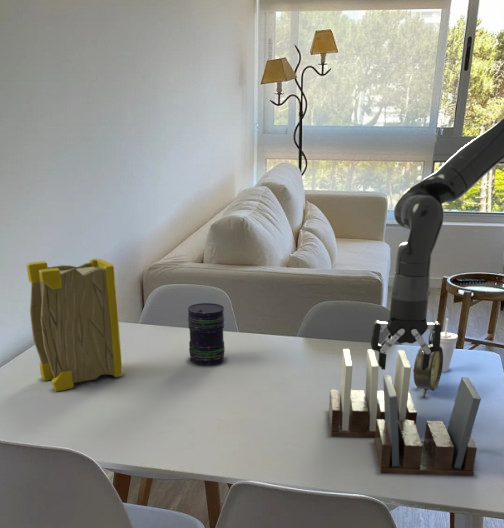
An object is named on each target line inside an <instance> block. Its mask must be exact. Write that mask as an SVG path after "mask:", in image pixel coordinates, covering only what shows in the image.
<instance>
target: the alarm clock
mask: <svg viewBox="0 0 504 528" xmlns="http://www.w3.org/2000/svg"><path fill="white" fill-rule="evenodd" d="M432 338H433V334H432V333H431V332H430V331H429V334H428V343H427V345H432ZM422 351H423V349H422V347H421V346H420V348H419V349H418V351H417V354H416V356H415V360H414V364H413V370H412V372H413V383H414V385H415V386H416V389H421V390H423V395H422V399H424V398H426V395H427V391H435V390H437V388H438V385H439V383H440V381H441V378H442V373H443V372H442V367H443V350H442V348H441V346H440V350H439V351H438V352H436V351H435V352H432V353H431V354H430V359H429V366H428V368H425V370H421V357H422Z"/></svg>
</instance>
